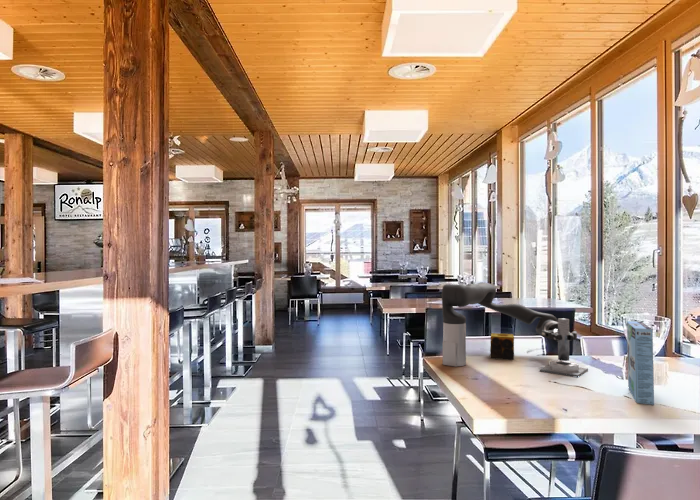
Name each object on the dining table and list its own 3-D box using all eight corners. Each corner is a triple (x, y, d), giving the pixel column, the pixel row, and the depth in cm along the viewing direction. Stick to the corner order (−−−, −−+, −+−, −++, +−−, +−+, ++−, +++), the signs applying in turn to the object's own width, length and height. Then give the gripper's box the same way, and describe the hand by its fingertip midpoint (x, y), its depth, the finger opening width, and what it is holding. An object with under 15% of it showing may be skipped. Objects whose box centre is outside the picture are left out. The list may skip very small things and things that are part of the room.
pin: (567, 361, 182) (567, 320, 183) (556, 359, 185) (556, 319, 185) (570, 359, 185) (570, 318, 186) (559, 358, 188) (559, 318, 188)
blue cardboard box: (654, 405, 142) (653, 329, 142) (634, 403, 144) (634, 328, 144) (644, 389, 159) (643, 321, 160) (626, 387, 161) (626, 320, 162)
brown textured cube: (490, 358, 207) (489, 336, 208) (490, 354, 217) (490, 332, 217) (514, 360, 204) (514, 337, 205) (513, 355, 214) (513, 333, 214)
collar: (577, 377, 175) (577, 369, 175) (539, 371, 184) (539, 363, 184) (588, 370, 186) (587, 362, 186) (551, 365, 195) (551, 357, 195)
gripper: (537, 321, 201) (546, 327, 184) (572, 322, 198) (585, 328, 181) (537, 339, 201) (546, 347, 184) (572, 340, 198) (585, 348, 181)
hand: (565, 338), depth 183 cm, fingers closed on pin, 4 cm apart
